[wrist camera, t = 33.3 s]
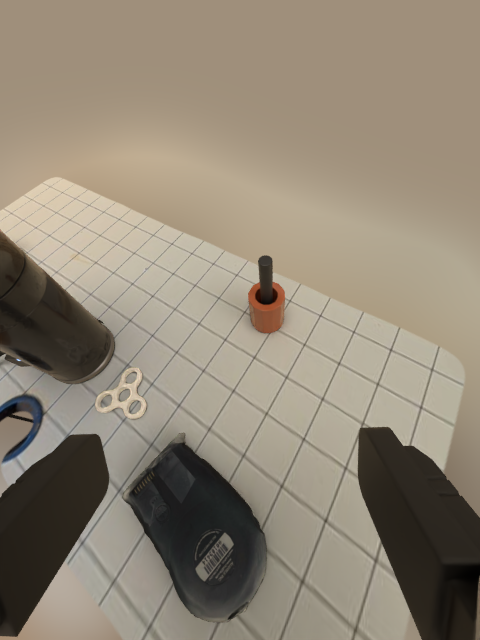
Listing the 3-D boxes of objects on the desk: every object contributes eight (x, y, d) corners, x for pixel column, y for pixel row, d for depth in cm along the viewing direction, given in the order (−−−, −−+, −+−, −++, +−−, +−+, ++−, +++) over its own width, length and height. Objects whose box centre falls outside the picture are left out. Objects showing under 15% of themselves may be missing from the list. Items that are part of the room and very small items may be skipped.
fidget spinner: (93, 411, 36) (90, 409, 35) (114, 364, 39) (111, 362, 38) (142, 421, 35) (139, 420, 34) (160, 372, 38) (158, 370, 37)
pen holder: (251, 334, 40) (248, 311, 34) (251, 306, 42) (248, 282, 37) (284, 332, 39) (286, 309, 34) (282, 305, 41) (283, 279, 36)
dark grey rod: (262, 322, 40) (258, 266, 29) (261, 313, 40) (257, 255, 30) (272, 322, 40) (272, 265, 29) (272, 313, 40) (271, 254, 30)
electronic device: (130, 505, 32) (217, 651, 24) (107, 496, 28) (204, 669, 20) (193, 443, 35) (286, 550, 28) (181, 426, 31) (287, 547, 23)
